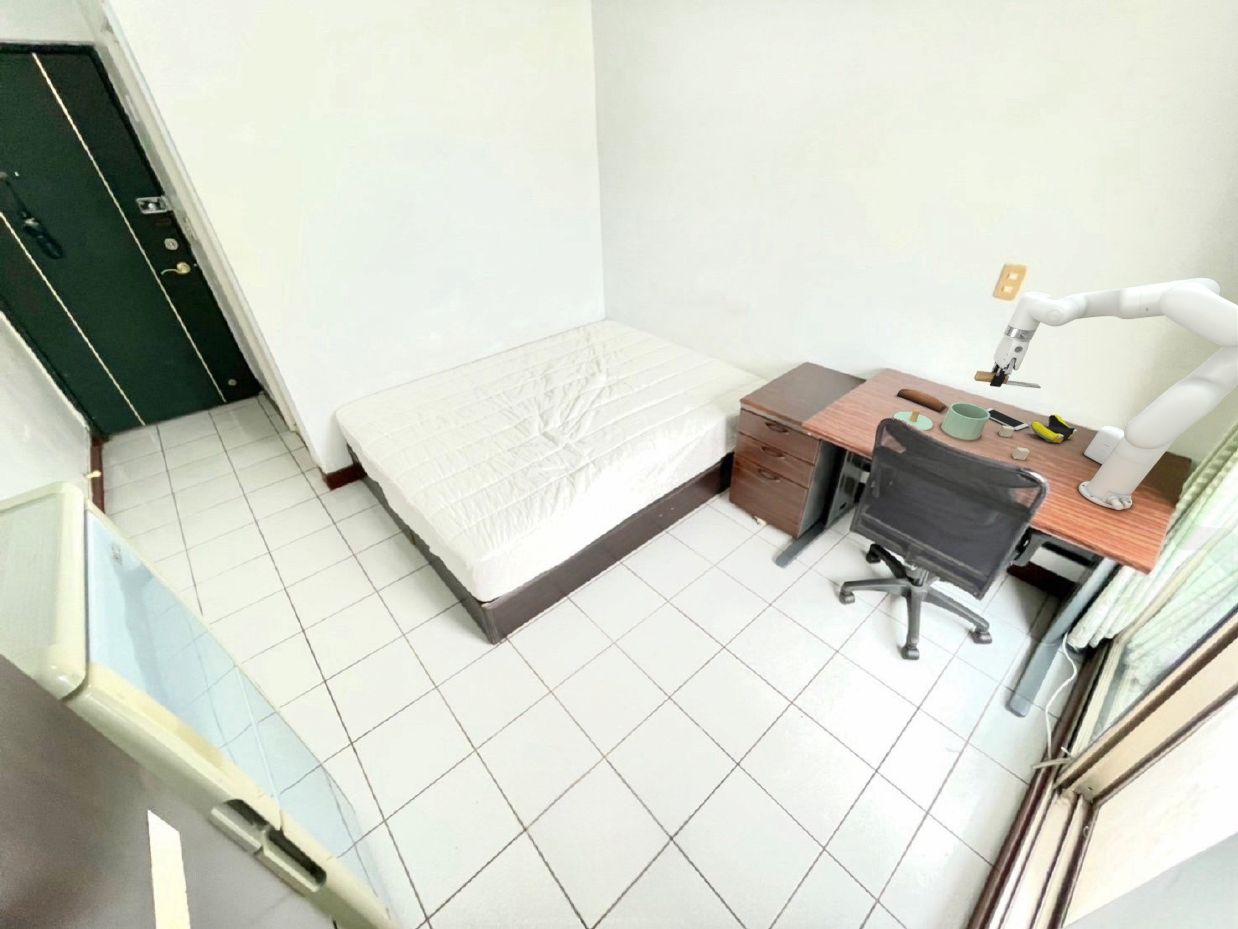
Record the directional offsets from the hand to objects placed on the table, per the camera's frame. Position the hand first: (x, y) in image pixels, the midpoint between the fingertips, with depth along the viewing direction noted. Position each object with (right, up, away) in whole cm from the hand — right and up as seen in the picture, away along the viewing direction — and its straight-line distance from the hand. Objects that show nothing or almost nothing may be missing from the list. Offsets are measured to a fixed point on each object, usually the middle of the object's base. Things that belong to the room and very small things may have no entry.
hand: (993, 383), depth 165 cm
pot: (0, -15, +16) cm, 22 cm away
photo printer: (+37, -27, 0) cm, 45 cm away
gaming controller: (+31, -17, +14) cm, 38 cm away
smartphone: (+21, -10, +23) cm, 33 cm away
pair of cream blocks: (+12, -21, +8) cm, 26 cm away
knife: (+3, 0, -1) cm, 4 cm away
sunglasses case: (-3, -2, +35) cm, 35 cm away
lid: (-15, -11, +21) cm, 28 cm away
